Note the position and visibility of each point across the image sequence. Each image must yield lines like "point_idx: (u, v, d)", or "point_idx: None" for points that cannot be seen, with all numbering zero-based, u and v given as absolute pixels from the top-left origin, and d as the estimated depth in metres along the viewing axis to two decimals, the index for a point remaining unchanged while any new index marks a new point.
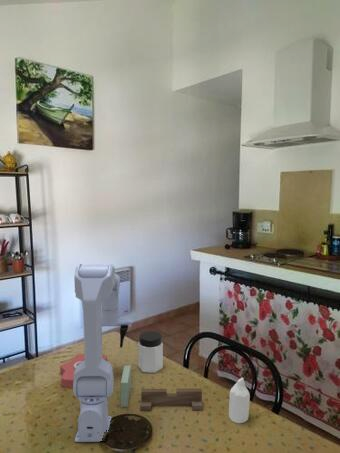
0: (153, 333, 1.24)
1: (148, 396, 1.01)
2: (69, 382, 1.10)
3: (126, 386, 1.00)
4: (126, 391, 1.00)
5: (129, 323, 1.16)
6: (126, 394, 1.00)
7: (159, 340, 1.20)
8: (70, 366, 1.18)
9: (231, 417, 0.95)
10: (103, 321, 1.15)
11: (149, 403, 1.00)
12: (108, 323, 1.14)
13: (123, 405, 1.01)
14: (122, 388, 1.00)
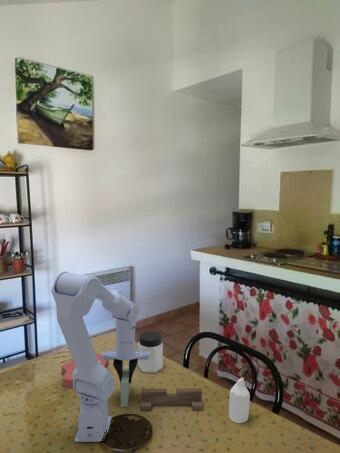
0: (153, 333, 1.24)
1: (148, 396, 1.01)
2: (71, 382, 1.10)
3: (126, 386, 1.00)
4: (126, 391, 1.00)
5: (147, 356, 1.04)
6: (126, 394, 1.00)
7: (159, 340, 1.20)
8: (72, 366, 1.18)
9: (231, 417, 0.95)
10: (118, 354, 1.02)
11: (149, 403, 1.00)
12: (124, 357, 1.01)
13: (123, 405, 1.01)
14: (122, 388, 1.00)
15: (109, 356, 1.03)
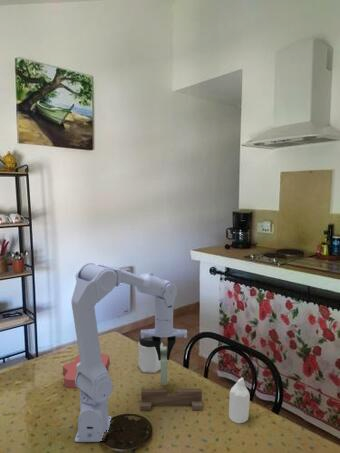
0: None
1: (148, 396, 1.01)
2: (72, 382, 1.10)
3: (166, 365, 1.03)
4: (166, 370, 1.04)
5: (185, 334, 1.07)
6: (166, 373, 1.04)
7: None
8: (73, 366, 1.18)
9: (231, 417, 0.95)
10: (157, 332, 1.05)
11: (149, 403, 1.00)
12: (163, 334, 1.05)
13: (163, 383, 1.04)
14: (162, 366, 1.03)
15: (148, 334, 1.06)
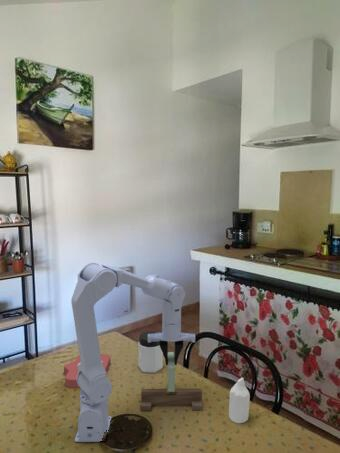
0: (153, 333, 1.24)
1: (148, 396, 1.01)
2: (73, 382, 1.10)
3: (173, 371, 1.01)
4: (173, 376, 1.01)
5: (193, 338, 1.04)
6: (173, 379, 1.01)
7: None
8: (74, 366, 1.18)
9: (231, 417, 0.95)
10: (165, 336, 1.03)
11: (149, 403, 1.00)
12: (171, 338, 1.02)
13: (170, 390, 1.01)
14: (170, 373, 1.01)
15: (155, 338, 1.03)
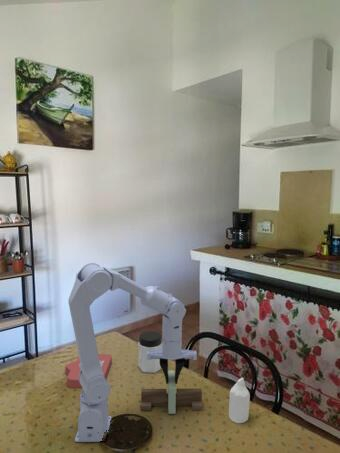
0: (153, 333, 1.24)
1: (148, 396, 1.01)
2: (75, 382, 1.10)
3: (174, 392, 0.97)
4: (174, 397, 0.97)
5: (194, 355, 1.00)
6: (174, 401, 0.97)
7: (159, 340, 1.20)
8: (75, 366, 1.18)
9: (231, 417, 0.95)
10: (165, 354, 0.98)
11: (149, 403, 1.00)
12: (171, 356, 0.98)
13: (171, 412, 0.97)
14: (170, 394, 0.97)
15: (155, 355, 0.99)
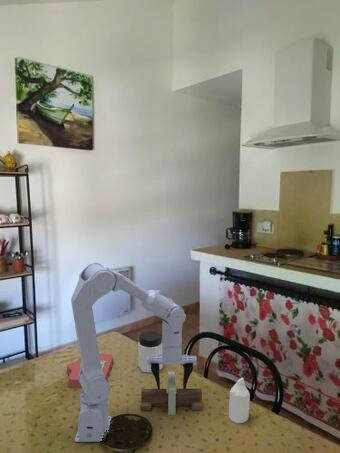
0: (153, 333, 1.24)
1: (148, 396, 1.01)
2: (76, 382, 1.10)
3: (174, 394, 0.97)
4: (174, 399, 0.97)
5: (194, 361, 1.00)
6: (174, 402, 0.97)
7: (159, 340, 1.20)
8: (77, 366, 1.18)
9: (231, 417, 0.95)
10: (165, 359, 0.99)
11: (149, 403, 1.00)
12: (171, 362, 0.98)
13: (171, 413, 0.97)
14: (170, 395, 0.97)
15: (155, 361, 0.99)
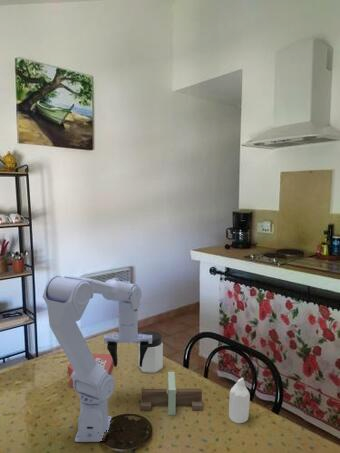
0: (153, 333, 1.24)
1: (148, 396, 1.01)
2: None
3: (174, 394, 0.97)
4: (174, 399, 0.97)
5: (150, 339, 1.03)
6: (174, 402, 0.97)
7: (159, 340, 1.20)
8: None
9: (231, 417, 0.95)
10: (121, 337, 1.02)
11: (149, 403, 1.00)
12: (126, 339, 1.01)
13: (171, 413, 0.97)
14: (170, 395, 0.97)
15: (111, 339, 1.02)
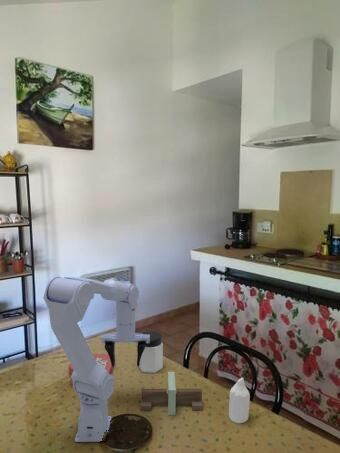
0: (153, 333, 1.24)
1: (148, 396, 1.01)
2: None
3: (174, 394, 0.97)
4: (174, 399, 0.97)
5: (147, 339, 1.03)
6: (174, 402, 0.97)
7: (159, 340, 1.20)
8: None
9: (231, 417, 0.95)
10: (118, 337, 1.02)
11: (149, 403, 1.00)
12: (124, 339, 1.01)
13: (171, 413, 0.97)
14: (170, 395, 0.97)
15: (109, 338, 1.02)
